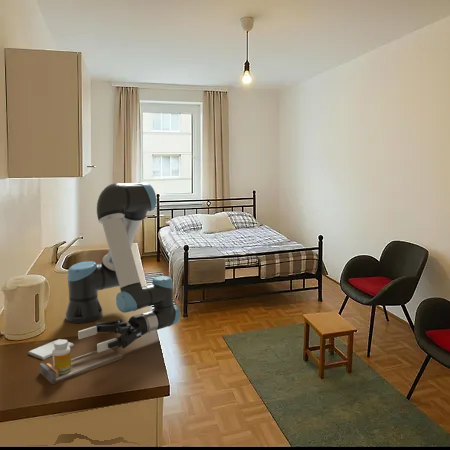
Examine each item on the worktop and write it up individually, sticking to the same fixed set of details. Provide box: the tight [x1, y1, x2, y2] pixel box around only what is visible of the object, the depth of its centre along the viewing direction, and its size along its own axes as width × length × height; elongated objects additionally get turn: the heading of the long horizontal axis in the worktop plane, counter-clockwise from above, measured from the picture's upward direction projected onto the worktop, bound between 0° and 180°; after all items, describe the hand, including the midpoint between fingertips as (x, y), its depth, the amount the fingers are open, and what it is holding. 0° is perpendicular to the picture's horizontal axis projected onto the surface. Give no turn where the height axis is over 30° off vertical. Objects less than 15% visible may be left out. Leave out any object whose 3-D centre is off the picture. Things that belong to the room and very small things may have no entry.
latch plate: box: [45, 362, 59, 378], centre depth 126 cm, size 7×1×2 cm, turn 45°
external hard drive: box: [28, 338, 74, 361], centre depth 144 cm, size 2×8×12 cm
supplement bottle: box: [51, 338, 72, 375], centre depth 128 cm, size 5×5×10 cm
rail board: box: [39, 348, 124, 385], centre depth 133 cm, size 10×24×3 cm, turn 135°
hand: (87, 341), depth 133 cm, fingers open, 13 cm apart
